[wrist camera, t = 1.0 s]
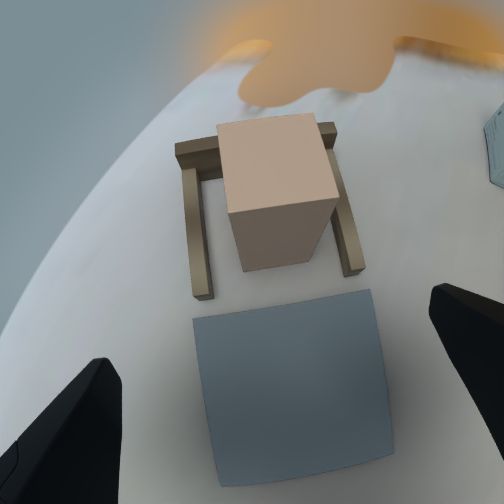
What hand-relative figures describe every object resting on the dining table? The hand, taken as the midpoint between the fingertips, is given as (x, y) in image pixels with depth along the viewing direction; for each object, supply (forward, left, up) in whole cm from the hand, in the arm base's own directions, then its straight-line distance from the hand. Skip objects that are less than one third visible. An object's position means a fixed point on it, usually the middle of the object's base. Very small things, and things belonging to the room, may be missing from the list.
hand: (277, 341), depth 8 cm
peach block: (+2, -7, -13) cm, 15 cm away
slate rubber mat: (-3, +2, -13) cm, 14 cm away
